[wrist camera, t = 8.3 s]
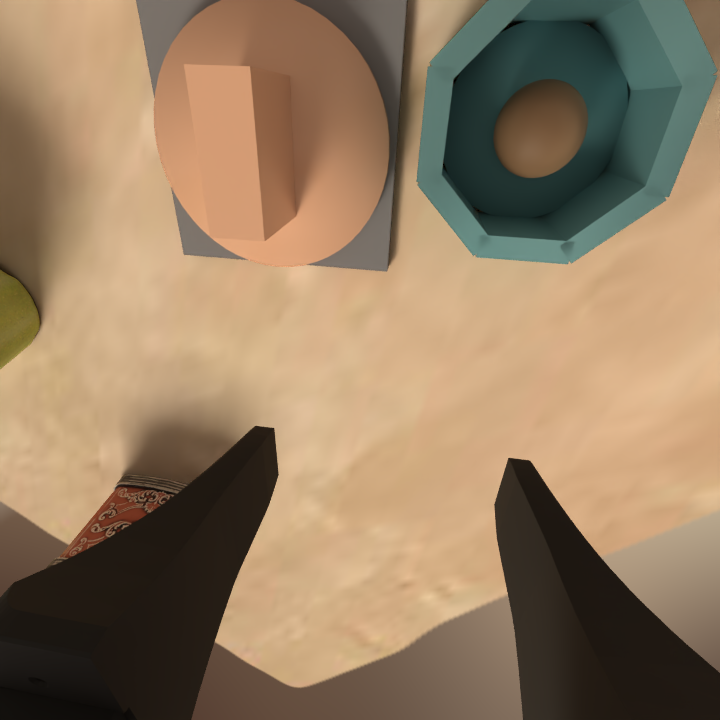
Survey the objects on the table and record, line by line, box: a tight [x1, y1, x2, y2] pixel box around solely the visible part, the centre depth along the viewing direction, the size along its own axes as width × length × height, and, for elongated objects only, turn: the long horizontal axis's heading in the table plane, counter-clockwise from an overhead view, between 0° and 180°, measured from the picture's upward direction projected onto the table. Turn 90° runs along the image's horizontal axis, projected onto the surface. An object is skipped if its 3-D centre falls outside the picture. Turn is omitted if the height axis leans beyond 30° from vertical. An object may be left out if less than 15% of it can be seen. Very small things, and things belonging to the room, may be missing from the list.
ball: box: [493, 79, 588, 178], centre depth 14 cm, size 3×3×3 cm
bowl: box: [417, 0, 717, 264], centre depth 15 cm, size 8×8×4 cm
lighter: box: [47, 474, 187, 568], centre depth 27 cm, size 8×3×10 cm, turn 81°
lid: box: [154, 0, 390, 267], centre depth 15 cm, size 10×10×5 cm
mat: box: [136, 0, 408, 271], centre depth 18 cm, size 10×10×1 cm
